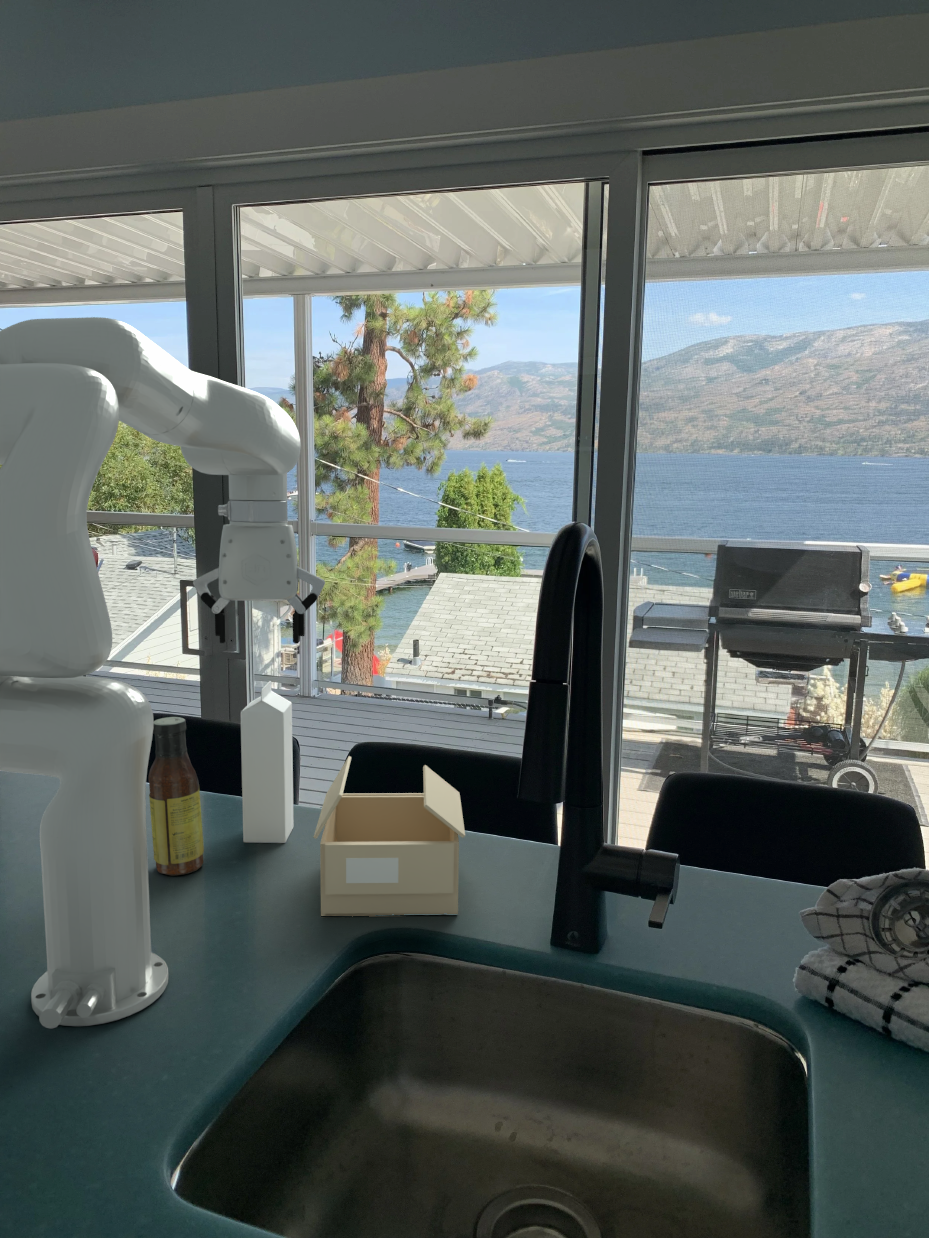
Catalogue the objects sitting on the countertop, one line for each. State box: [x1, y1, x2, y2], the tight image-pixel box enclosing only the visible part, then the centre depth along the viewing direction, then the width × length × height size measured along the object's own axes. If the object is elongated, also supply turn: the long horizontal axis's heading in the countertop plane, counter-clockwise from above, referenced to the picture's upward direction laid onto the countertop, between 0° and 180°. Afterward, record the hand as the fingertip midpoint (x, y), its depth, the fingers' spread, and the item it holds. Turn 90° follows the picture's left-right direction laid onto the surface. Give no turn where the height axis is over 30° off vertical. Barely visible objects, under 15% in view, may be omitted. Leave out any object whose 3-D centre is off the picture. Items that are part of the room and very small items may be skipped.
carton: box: [319, 792, 460, 918], centre depth 113 cm, size 17×16×9 cm
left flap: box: [313, 755, 352, 840], centre depth 112 cm, size 15×6×1 cm
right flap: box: [422, 764, 466, 839], centre depth 113 cm, size 15×6×1 cm
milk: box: [240, 680, 295, 844], centre depth 128 cm, size 6×6×22 cm
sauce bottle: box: [148, 716, 205, 877], centre depth 117 cm, size 7×6×20 cm
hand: (260, 641), depth 123 cm, fingers open, 9 cm apart
